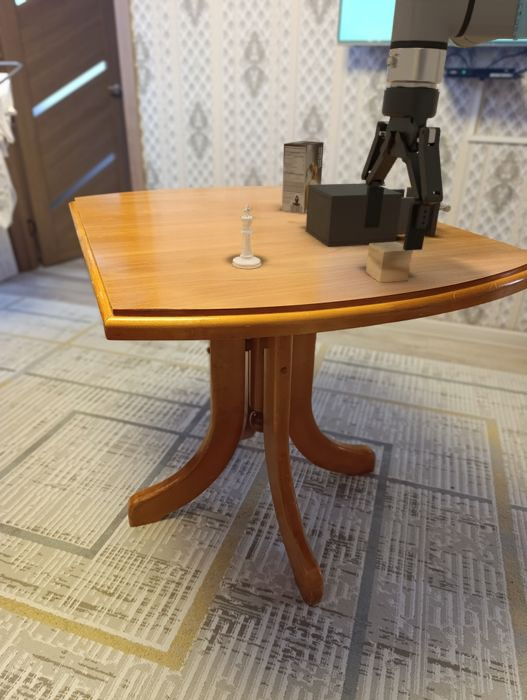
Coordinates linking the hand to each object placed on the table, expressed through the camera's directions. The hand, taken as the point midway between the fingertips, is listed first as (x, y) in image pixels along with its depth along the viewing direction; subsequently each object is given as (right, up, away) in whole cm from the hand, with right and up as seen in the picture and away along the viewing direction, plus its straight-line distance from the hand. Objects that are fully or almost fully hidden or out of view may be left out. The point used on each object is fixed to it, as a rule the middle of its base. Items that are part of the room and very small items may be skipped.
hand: (390, 237), depth 80 cm
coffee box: (-11, +17, +46) cm, 50 cm away
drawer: (+9, +8, +28) cm, 30 cm away
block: (0, -6, +3) cm, 6 cm away
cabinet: (-2, +6, +25) cm, 26 cm away
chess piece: (-23, -3, +7) cm, 24 cm away
